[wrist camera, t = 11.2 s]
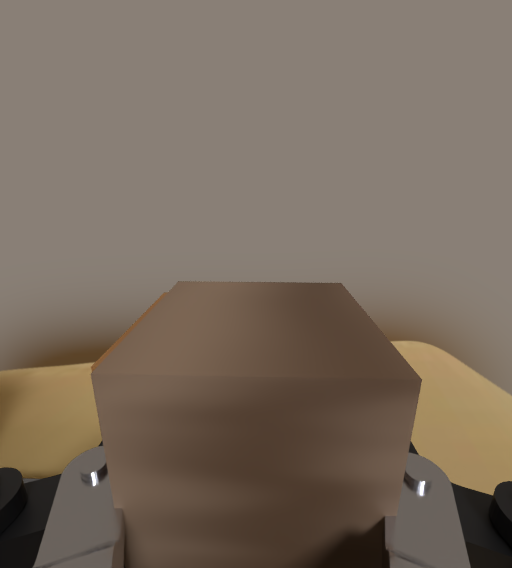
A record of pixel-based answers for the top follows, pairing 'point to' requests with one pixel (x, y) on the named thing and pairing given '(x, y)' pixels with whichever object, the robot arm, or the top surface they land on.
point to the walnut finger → (255, 428)
